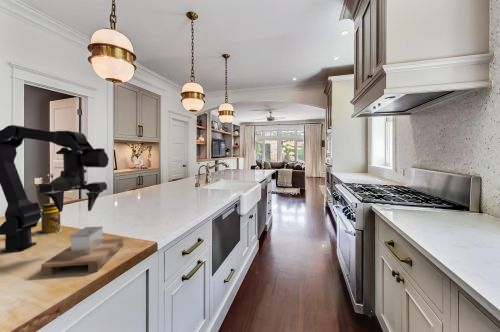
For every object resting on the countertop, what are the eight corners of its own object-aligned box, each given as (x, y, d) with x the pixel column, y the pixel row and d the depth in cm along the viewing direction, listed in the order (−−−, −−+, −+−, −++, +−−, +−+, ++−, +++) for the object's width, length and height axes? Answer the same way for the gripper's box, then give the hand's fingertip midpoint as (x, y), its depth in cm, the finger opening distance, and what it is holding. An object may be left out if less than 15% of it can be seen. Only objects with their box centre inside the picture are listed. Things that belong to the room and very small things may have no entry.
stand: (80, 248, 78) (80, 239, 78) (123, 245, 80) (123, 237, 80) (41, 275, 60) (41, 264, 60) (97, 271, 63) (97, 261, 62)
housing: (86, 244, 74) (86, 227, 73) (102, 243, 74) (102, 226, 74) (71, 255, 66) (70, 235, 65) (89, 254, 67) (89, 234, 66)
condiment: (62, 231, 94) (61, 204, 94) (34, 236, 88) (33, 207, 88) (61, 227, 99) (60, 201, 99) (34, 232, 94) (33, 204, 93)
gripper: (24, 168, 68) (25, 218, 69) (90, 168, 71) (91, 216, 72) (50, 166, 79) (51, 210, 80) (107, 167, 82) (108, 208, 83)
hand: (75, 211), depth 78 cm, fingers open, 9 cm apart
